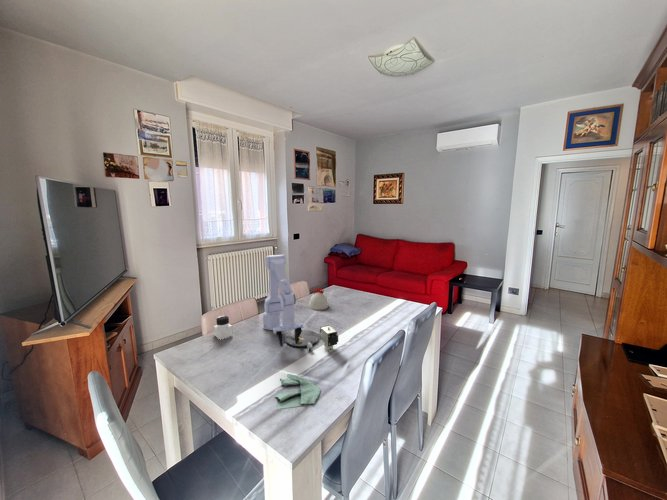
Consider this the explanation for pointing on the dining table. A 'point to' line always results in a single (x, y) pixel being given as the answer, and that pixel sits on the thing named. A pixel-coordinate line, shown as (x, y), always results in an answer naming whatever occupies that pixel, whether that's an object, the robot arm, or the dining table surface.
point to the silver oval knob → (309, 346)
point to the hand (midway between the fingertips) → (289, 344)
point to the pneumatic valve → (328, 337)
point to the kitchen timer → (318, 300)
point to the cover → (293, 335)
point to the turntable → (303, 338)
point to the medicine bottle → (223, 328)
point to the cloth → (297, 393)
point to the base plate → (305, 346)
